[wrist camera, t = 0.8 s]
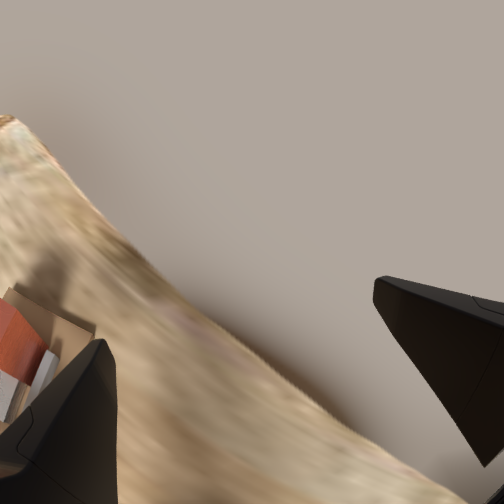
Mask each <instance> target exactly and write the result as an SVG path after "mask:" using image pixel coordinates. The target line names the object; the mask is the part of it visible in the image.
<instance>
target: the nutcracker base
mask: <svg viewBox="0 0 504 504" xmlns="http://www.w3.org/2000/svg"><path fill="white" fill-rule="evenodd" d="M3 300H4V301H6V302H7V303H9V304H10V305H12V306H13V307H15V308H16V309H17V310H18V311H19V312H20V313H21V315H22V316H23V317H24V318H25V320H26V321H27V322H28V323H29V325H30V326H31V327H32V328H33V329H34V330H35V332H36V333H37V334H38V335H39V336H40V337H41V339H42V340H43V341H44V342H45V343H46V344H47V345H48V346H49V349H48V350H46V353H45V355H44V357H43V359H42V362H41V364H40V366H39V369H38V371H37V373H36V376H35V378H34V381H33V383H32V386H31V387H30V386H28V385H27V387H26V390H25V392H24V395H23V397H22V400H21V403H20V406H19V408H18V411H17V414H16V417H15V419H16V418H17V417H18V416H19V415H20V414H21V413H22V412H23V411H24V410H25V409H26V408H27V406H30V403H31V402H32V401H33V400H34V399H35V398H36V397H37V396H38V395H39V394H40V393H41V392H42V391H43V389H44V388H45V387H46V386H47V385H48V384H49V383H50V382H51V381H52V380H53V379H54V378H55V377H56V376H57V375H58V374H59V373H60V372H61V371H62V370H63V369H64V368H65V367H66V366H67V365H68V364H69V363H70V362H71V361H72V360H73V359H74V358H75V357H76V356H77V355H78V354H79V353H80V352H81V351H82V350H83V349H84V348H85V347H86V346H87V345H88V344H89V343H90V342H91V341H92V340H94V336H93V334H92V333H90V332H88V331H86V330H84V329H82V328H80V327H78V326H76V325H74V324H72V323H70V322H68V321H67V320H65V319H63V318H61V317H59V316H57V315H55V314H54V313H52V312H50V311H48V310H46V309H45V308H43V307H41V306H39V305H38V304H36V303H34V302H33V301H31V300H29V299H28V298H26V297H24V296H23V295H21V294H19V293H18V292H16V291H15V290H13V289H11V288H10V287H9V288H8V290H7V291H6V293H5V295H4V297H3ZM9 425H10V424H8V423H3V422H2V421H1V420H0V434H1V433H2V432H3V431H4V430H5V429H6V428H7V427H8V426H9Z"/></svg>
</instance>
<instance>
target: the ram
mask: <svg viewBox="0 0 504 504" xmlns="http://www.w3.org/2000/svg"><path fill="white" fill-rule="evenodd" d="M48 349H49V346H48V345H47V344H46V343H45V342H44V341H43V340H42V339H41V337H40V336H39V335H38V334H37V333H36V332H35V330H34V329H33V328H32V327H31V326H30V325H29V323H28V322H27V321H26V320H25V318H24V317H23V316H22V315H21V313H20V312H19V311H18V310H17V309H16V308H15V307H13V306H12V305H10V304H9V303H7V302H6V301H4V300H3V299H1V298H0V420H1V421H2V422H3V423H8V424H11V423H12V422H13V421H14V420H15V417H16V414H17V411H18V408H19V406H20V403H21V400H22V397H23V395H24V392H25V390H26V387H27V385H28V386H30V387H31V386H32V383H33V381H34V378H35V376H36V373H37V371H38V369H39V366H40V364H41V362H42V359H43V357H44V355H45V353H46V350H48Z"/></svg>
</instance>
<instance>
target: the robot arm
mask: <svg viewBox="0 0 504 504" xmlns="http://www.w3.org/2000/svg"><path fill="white" fill-rule="evenodd" d="M373 303H374V306H375V307H376V309H377V311H378V312H379V314H380V315H381V317H382V319H383V320H384V322H385V324H386V325H387V327H388V329H389V330H390V332H391V333H392V335H393V336H394V338H395V339H396V341H397V342H398V343H399V345H400V346H401V347H402V349H403V350H404V351H405V353H406V354H407V355H408V357H409V358H410V359H411V361H412V362H413V363H414V365H415V366H416V368H417V369H418V370H419V372H420V373H421V374H422V376H423V377H424V379H425V380H426V381H427V383H428V384H429V386H430V387H431V389H432V390H433V391H434V392H435V394H436V395H437V397H438V398H439V400H440V401H441V403H442V404H443V406H444V407H445V409H446V410H447V412H448V413H449V415H450V416H451V418H452V419H453V420H454V422H455V423H456V425H457V426H458V428H459V430H460V431H461V433H462V434H463V436H464V437H465V439H466V441H467V442H468V444H469V445H470V447H471V448H472V450H473V451H474V453H475V455H476V456H477V458H478V459H479V461H480V463H481V464H482V466H483V467H484V468H485V467H486V466H488V464H490V463H491V462H492V461H493V460H494V459H495V458H496V457H497V456H498V455H499V454H500V453H501V452H502V451H503V450H504V303H502V302H497V301H492V300H488V299H483V298H479V297H475V296H472V297H471V296H470V295H466V294H462V293H458V292H454V291H449V290H445V289H441V288H437V287H433V286H429V285H424V284H420V283H416V282H412V281H407V280H403V279H399V278H395V277H391V276H382V277H379V278H377V279H376V280H375V282H374V292H373ZM117 407H118V405H117V386H116V364H115V360H114V357H113V355H112V353H111V351H110V349H109V346H108V344H107V342H106V341H105V339H95V340H92V341H91V342H90V343H89V344H88V345H87V346H86V347H85V348H84V349H83V350H82V351H81V352H80V353H79V354H78V355H77V356H76V357H75V358H74V359H73V360H72V361H71V362H70V363H69V364H68V365H67V366H66V367H65V368H64V369H63V370H62V371H61V372H60V373H59V374H58V375H57V376H56V377H55V378H54V379H53V380H52V381H51V382H50V383H49V384H48V385H47V386H46V387H45V388H44V389H43V391H42V392H41V393H40V394H39V395H38V396H37V397H36V398H35V399H34V400H33V401H32V402H31V403H30V406H27V408H26V409H25V410H24V411H23V412H22V413H21V414H20V415H19V416H18V417H17V418H16V419H15V420H14V421H13V422H12V423H11V424H10V425H9V426H8V427H7V428H6V429H5V430H4V431H3V432H2V433H1V434H0V504H118V494H117V462H116V444H117ZM483 504H504V484H503V485H502V486H501V487H500V488H499V489H498V490H497V491H496V492H495V493H494V494H493V495H492V496H491V497H490V498H489V499H488V500H486V501H485V502H484V503H483Z"/></svg>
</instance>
